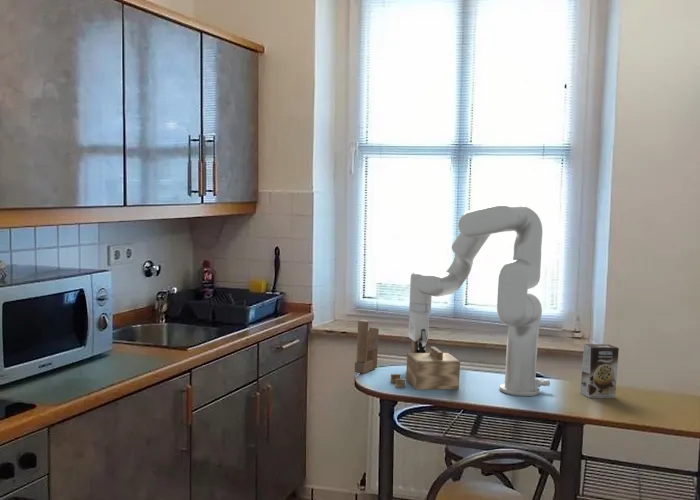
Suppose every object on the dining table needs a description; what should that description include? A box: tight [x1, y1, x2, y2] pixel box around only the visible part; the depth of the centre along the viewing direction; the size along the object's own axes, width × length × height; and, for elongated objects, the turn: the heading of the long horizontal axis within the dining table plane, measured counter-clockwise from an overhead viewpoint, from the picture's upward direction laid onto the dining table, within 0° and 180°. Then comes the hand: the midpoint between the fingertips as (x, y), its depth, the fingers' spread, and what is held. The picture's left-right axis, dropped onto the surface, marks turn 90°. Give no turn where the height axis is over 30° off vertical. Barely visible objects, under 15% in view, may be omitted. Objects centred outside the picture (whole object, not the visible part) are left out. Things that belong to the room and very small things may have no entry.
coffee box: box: [580, 343, 620, 399], centre depth 242 cm, size 9×6×16 cm
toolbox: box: [390, 352, 461, 390], centre depth 249 cm, size 20×13×9 cm, turn 101°
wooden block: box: [354, 319, 380, 374], centre depth 265 cm, size 4×11×18 cm, turn 152°
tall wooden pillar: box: [410, 339, 422, 353], centre depth 266 cm, size 4×4×12 cm
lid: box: [407, 346, 460, 363], centre depth 249 cm, size 14×11×3 cm
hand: (417, 358), depth 267 cm, fingers open, 5 cm apart
